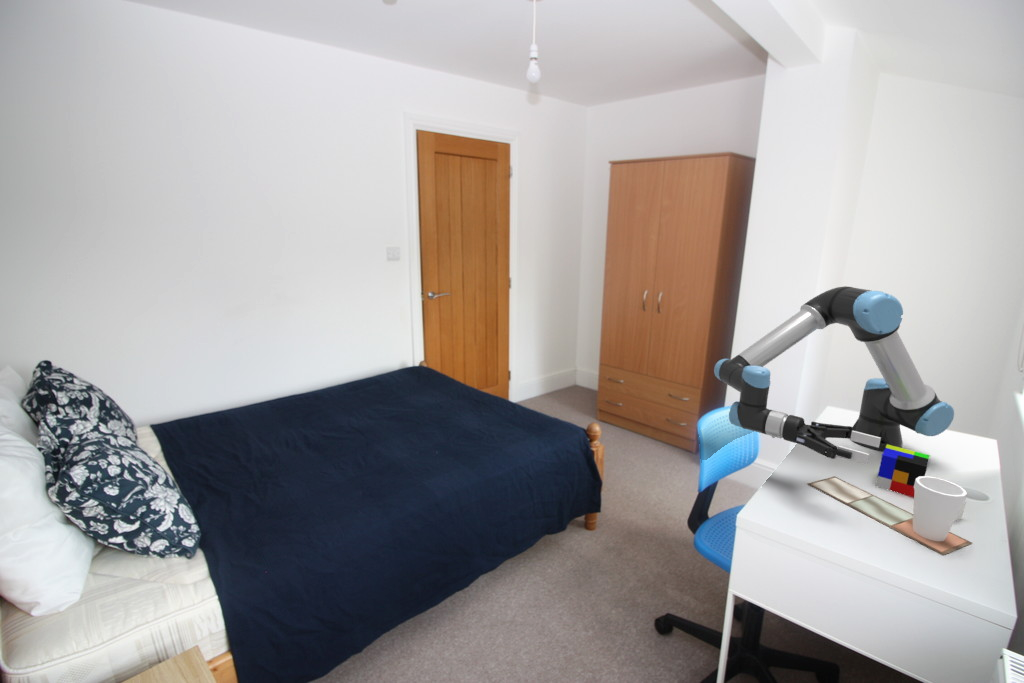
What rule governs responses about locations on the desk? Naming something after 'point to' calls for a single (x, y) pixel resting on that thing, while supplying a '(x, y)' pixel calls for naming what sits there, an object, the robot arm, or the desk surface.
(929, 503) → the foam cup
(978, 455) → the desk surface
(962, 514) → the die
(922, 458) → the puzzle toy
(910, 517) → the color swatch strip
